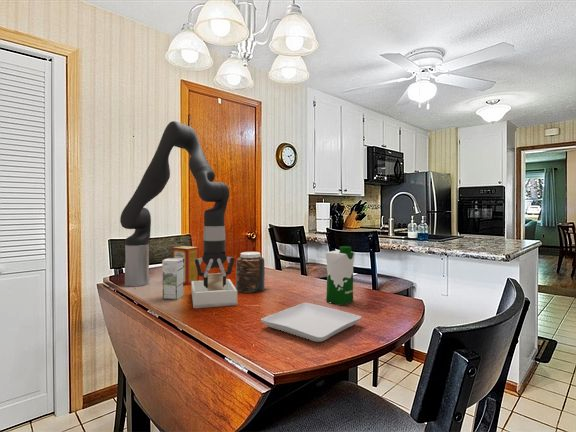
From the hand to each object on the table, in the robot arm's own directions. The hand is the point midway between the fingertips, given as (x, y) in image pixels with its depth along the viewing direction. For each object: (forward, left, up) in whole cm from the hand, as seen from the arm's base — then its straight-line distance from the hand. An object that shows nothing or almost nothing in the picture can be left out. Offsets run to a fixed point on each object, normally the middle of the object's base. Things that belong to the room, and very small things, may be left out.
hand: (214, 286), depth 122 cm
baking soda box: (-9, +37, -6) cm, 38 cm away
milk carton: (+43, -11, -6) cm, 45 cm away
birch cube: (0, 0, -1) cm, 1 cm away
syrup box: (-14, +12, -6) cm, 19 cm away
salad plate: (+24, -32, -6) cm, 41 cm away
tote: (0, +5, -6) cm, 8 cm away
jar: (+16, +16, -6) cm, 23 cm away
